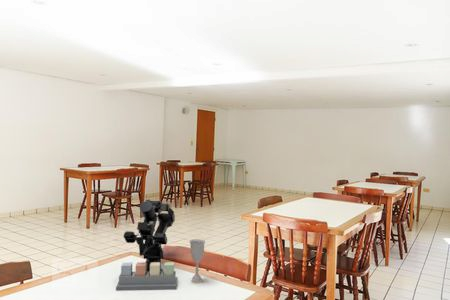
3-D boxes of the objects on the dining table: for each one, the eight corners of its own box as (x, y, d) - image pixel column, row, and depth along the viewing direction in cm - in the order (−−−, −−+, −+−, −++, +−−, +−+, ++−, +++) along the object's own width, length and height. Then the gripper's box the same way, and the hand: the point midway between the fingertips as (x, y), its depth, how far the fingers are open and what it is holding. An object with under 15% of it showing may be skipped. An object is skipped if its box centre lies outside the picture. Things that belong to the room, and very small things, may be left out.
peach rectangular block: (146, 274, 161) (146, 262, 161) (145, 278, 157) (145, 265, 157) (136, 275, 161) (137, 262, 161) (135, 278, 157) (135, 265, 157)
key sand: (160, 274, 162) (160, 262, 162) (159, 278, 158) (159, 265, 158) (150, 274, 162) (150, 262, 161) (149, 278, 158) (149, 265, 157)
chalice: (207, 279, 167) (208, 240, 166) (200, 285, 161) (200, 244, 160) (193, 277, 170) (194, 238, 169) (185, 282, 164) (186, 241, 163)
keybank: (177, 280, 166) (177, 269, 166) (176, 289, 156) (176, 277, 156) (120, 281, 163) (120, 270, 163) (115, 290, 154) (116, 278, 153)
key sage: (173, 274, 162) (173, 262, 162) (173, 277, 158) (173, 265, 158) (164, 274, 162) (164, 262, 162) (163, 277, 158) (164, 265, 158)
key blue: (132, 275, 161) (132, 262, 161) (130, 278, 157) (130, 265, 157) (122, 275, 161) (123, 262, 160) (121, 278, 157) (121, 265, 156)
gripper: (125, 213, 165) (115, 244, 154) (166, 215, 163) (158, 246, 152) (131, 227, 173) (122, 257, 162) (170, 228, 171) (163, 259, 160)
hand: (141, 255), depth 159 cm, fingers closed
